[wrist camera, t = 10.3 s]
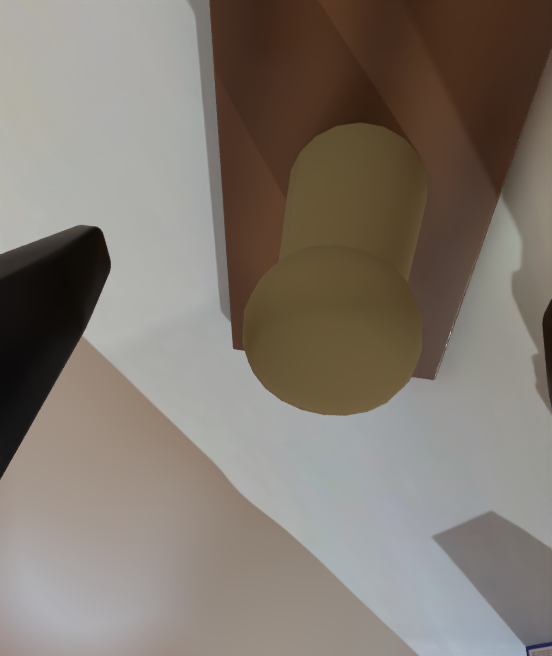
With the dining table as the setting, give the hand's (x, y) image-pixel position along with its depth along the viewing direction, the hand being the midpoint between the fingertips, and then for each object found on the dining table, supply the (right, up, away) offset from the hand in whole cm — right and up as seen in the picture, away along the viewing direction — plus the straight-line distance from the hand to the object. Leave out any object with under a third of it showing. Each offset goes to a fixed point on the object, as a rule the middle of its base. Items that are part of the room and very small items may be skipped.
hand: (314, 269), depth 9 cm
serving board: (+3, +5, +13) cm, 14 cm away
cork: (+3, +5, +11) cm, 13 cm away
